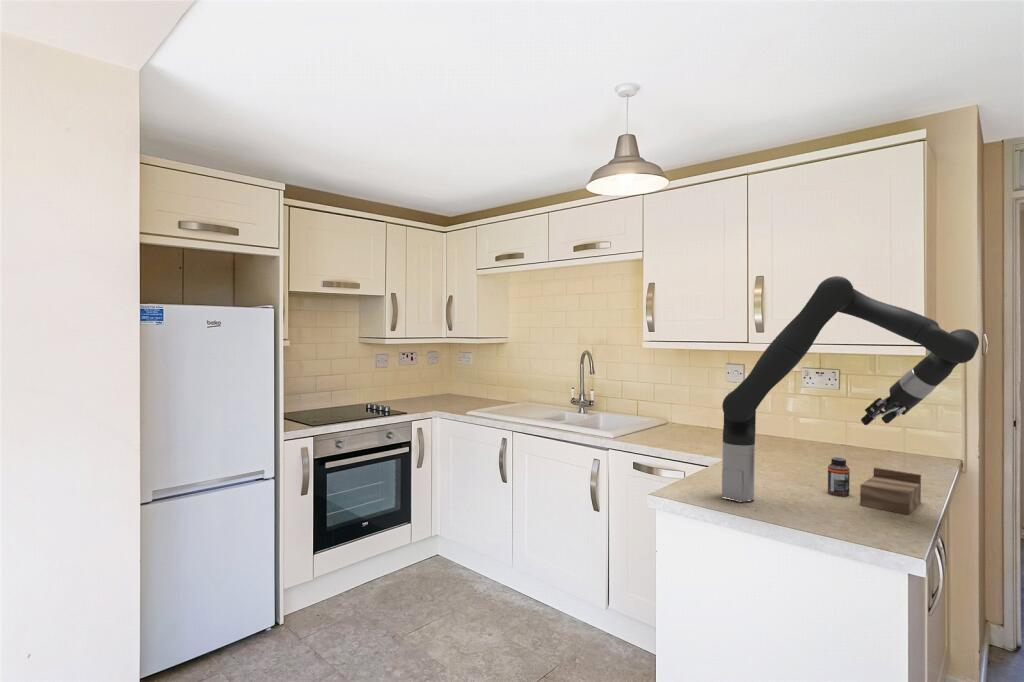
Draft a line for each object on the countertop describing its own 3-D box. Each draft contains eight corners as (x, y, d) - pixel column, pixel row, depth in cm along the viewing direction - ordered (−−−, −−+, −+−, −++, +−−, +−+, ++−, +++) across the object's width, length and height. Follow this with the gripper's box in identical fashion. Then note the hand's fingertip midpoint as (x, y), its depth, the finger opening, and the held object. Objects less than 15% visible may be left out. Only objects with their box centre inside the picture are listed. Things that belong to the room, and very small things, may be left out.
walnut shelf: (908, 514, 156) (909, 484, 156) (860, 505, 164) (860, 476, 164) (920, 502, 167) (921, 474, 167) (874, 494, 175) (874, 467, 175)
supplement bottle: (829, 490, 180) (829, 455, 180) (850, 493, 176) (851, 458, 176) (825, 494, 175) (826, 458, 175) (847, 497, 171) (848, 461, 171)
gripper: (921, 376, 158) (882, 410, 169) (885, 377, 154) (848, 413, 165) (941, 396, 153) (899, 430, 164) (904, 398, 149) (864, 433, 160)
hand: (873, 421), depth 164 cm, fingers open, 8 cm apart
